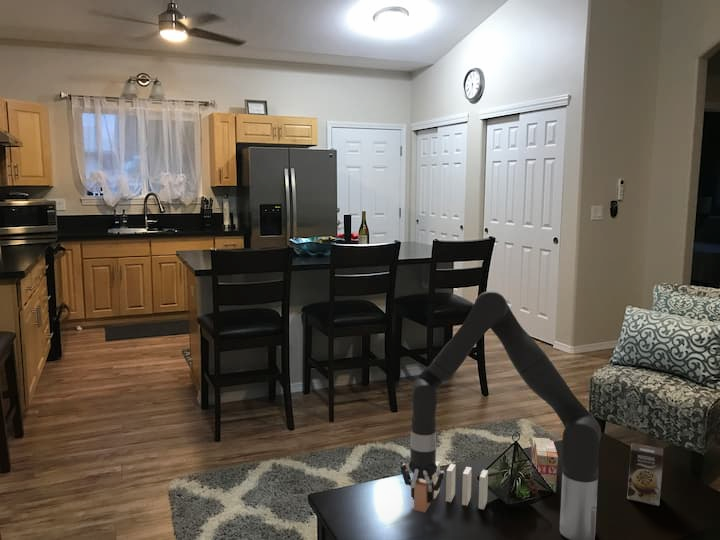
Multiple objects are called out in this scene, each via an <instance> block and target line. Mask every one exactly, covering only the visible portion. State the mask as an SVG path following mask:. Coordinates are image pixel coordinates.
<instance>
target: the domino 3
mask: <svg viewBox="0 0 720 540" xmlns="http://www.w3.org/2000/svg"><path fill="white" fill-rule="evenodd" d="M456 465H457V464H455V463H450V464H449V466H448V467H447V469H446V473H445V478H446V480H445V481H446V482H445V502H449V503H452V501H453V499H454V497H455V495H456V474H457V473H456V471H457V470H456V469H457V467H456Z"/></svg>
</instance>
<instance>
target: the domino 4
mask: <svg viewBox="0 0 720 540" xmlns="http://www.w3.org/2000/svg"><path fill="white" fill-rule="evenodd" d="M461 489H462V491H461V492H462V493H461V497H462V498H461V505H462V506H465V505H466V506H465V507H468V505H469V503H470V501H471V499H472V467H470V466H466V467H465V469H464V470H463V472H462V487H461ZM470 498H471V499H470Z"/></svg>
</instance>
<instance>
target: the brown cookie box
mask: <svg viewBox="0 0 720 540" xmlns="http://www.w3.org/2000/svg"><path fill="white" fill-rule="evenodd" d="M664 451H665V450H664V448H663V447H662V448H661V447H658V446H657V447H656V446H652V445H646V444H640V443H634V442H632V443H631V445H630V457H629V468H628V481H627V482H628V483H627V496H626V498H627V500H631V501H636V502H640V503H645V504H648V505H653V506H657V507H660V499H661V491H662V490H661V489H662V488H661V487H662V478H663V477H662V475H663V463H664Z"/></svg>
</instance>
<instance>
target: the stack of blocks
mask: <svg viewBox="0 0 720 540" xmlns="http://www.w3.org/2000/svg"><path fill="white" fill-rule="evenodd" d="M530 444H531V459H530V461H531V464H532V463H533V464H534V466H535V467H536V469H537V470H538V472H539V473H540V474H541V476H542V477H543V478H544V480H545V481H546V483H547V484H548V485H549V486H550V487H551V489H552V490H553V491H554V492H553V493H557V478H558V477H557V475H558V463H559V456H558V452H557V448H556V445H555V443H554V441H553V440H551V438H547V437H546V438H545V437H544V438H543V437H532V436H531V443H530Z"/></svg>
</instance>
